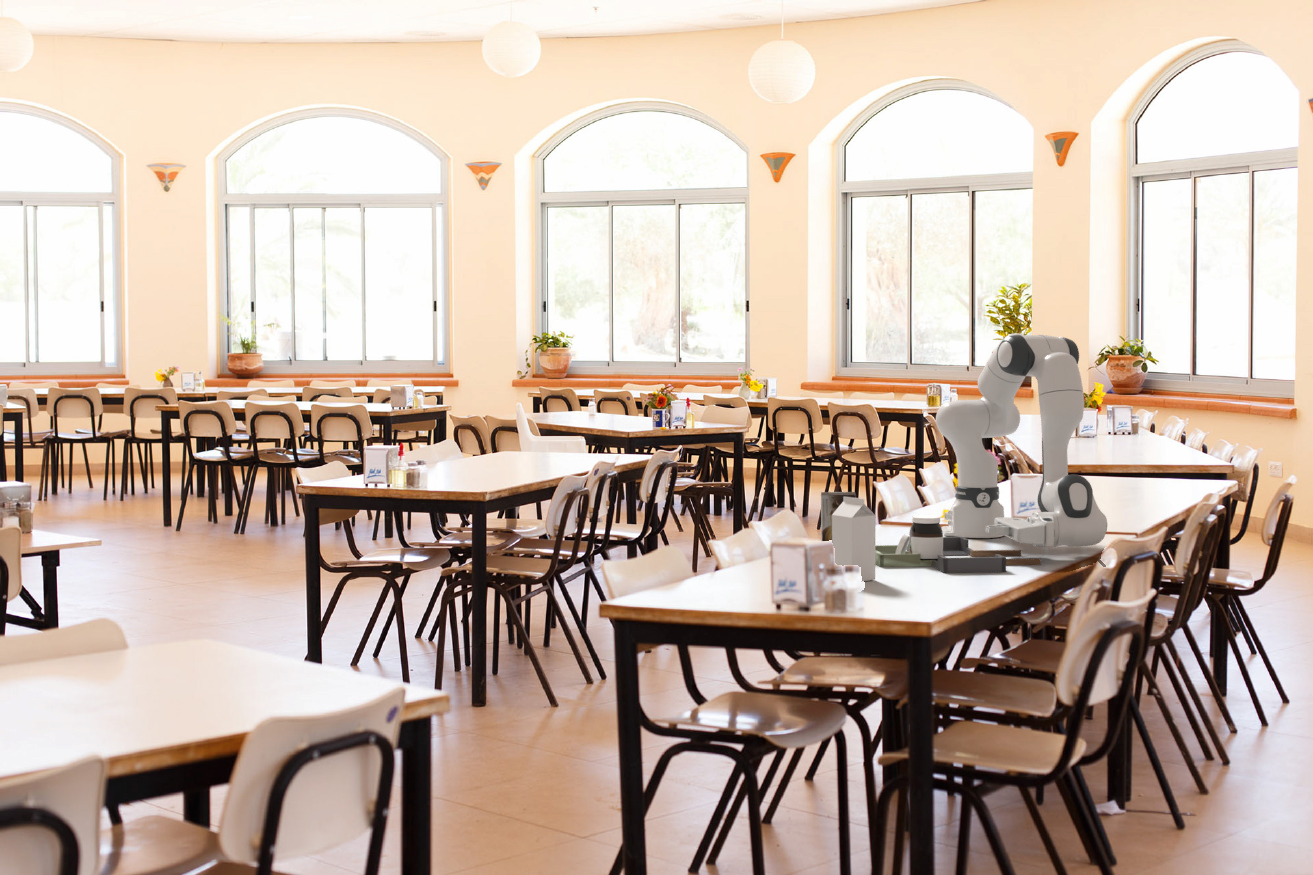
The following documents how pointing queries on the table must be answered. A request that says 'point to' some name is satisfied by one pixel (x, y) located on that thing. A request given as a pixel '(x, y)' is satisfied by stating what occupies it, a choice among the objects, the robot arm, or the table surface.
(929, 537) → the spread jar
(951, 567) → the dark grey shallow tray
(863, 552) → the milk carton
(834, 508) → the coffee box
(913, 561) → the lane
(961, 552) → the grey open tray
